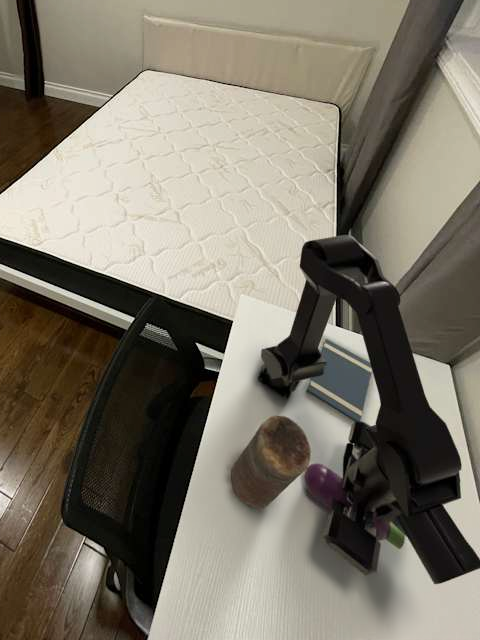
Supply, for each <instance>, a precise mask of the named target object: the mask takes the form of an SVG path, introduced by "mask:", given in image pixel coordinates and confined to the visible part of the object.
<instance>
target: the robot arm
mask: <svg viewBox="0 0 480 640" xmlns="http://www.w3.org/2000/svg"><path fill="white" fill-rule="evenodd" d="M299 269H300V271H301V272H302V274H303V276H304V278H305V283H304V286H303V289H302V293H301V295H300V298H299V299H300V300H299V303H298V306H297V308H296V313H295V316H294V319H293V323H292V325H291V328H290V333H289V335H288V336H287V337H285V338H284V339H283V340H281V341H280V342H279V343H277V344H276V345H274V346H270V347H265V348H262V349H261V350H260V351H261V353H260V358H261V360H262V362H263V367H262V368H261V370H260V372H259V374H258V377H257V381H258V382H259V383H260V384H262V385H264V386H265V387H267V388H268V389H270V390H271V391H273V392H274V393H276V394H278V395H279V396H280V397H282V398H284V399H285V400H287V399H289V397H290V394H291V392H295V390H296V389H297V387H298V386H299V384H300V382H301V381H304V380H308V379H312V378H313V377H317V376H321V375H324V368H325V366H326V365H327V362H326V361H325V360H324V358H323V356H322V354H321V350H320V349H319V347H320V343H321V341H322V338H323V335H324V333H325V330H326V328H327V325H328V323H329V320H330V317H331V314H332V311H333V309H334V306H335V303H336V301H337V298H340V299H342V300H343V301H345V302H346V303H347V304H348V305H349V307H351V309H352V310H353V312H355V313H356V317H357V321H358V324H359V327H360V331H361V335H362V338H363V342H364V346H365V350H366V352H367V357H368V360H369V362H370V364H371V368H372V374H373V378H374V382H375V385H376V389H377V393H378V397H379V403H380V405H379V409H378V412H377V416H376V419H375V424H374V425H370V424H369V423H367V422H365V421H362V420H360V421H354V422H353V423H352V424H351V426H350V431H349V433H348V434H349V435H348V439H347V440H348V442H347V443H346V445H345V449H344V453H343V457H342V478H343V479H344V482H343V486H342V489H343V490H344V491H346V492H347V493H348V494H347V501H348V502H350V503H351V504H354V502H353V501H355V504H354V508H352V507H349V509H348V508H347V507H346V506H344V505H343V504H342V503H340V502H339V501H338V500H336V499H335V498H333V500H332V504H331V508H329V511H328V512H329V513H328V517H327V522H326V526H325V530H324V534H323V539H324V543H325V544H326V546H327V547H328V548H330V549H331V550H333V552H335V553H336V554H337V555H338V556H340V557H341V558H343V560H345V561H346V562H348V563H349V564H350V565H352V566H353V567H354V568H355V569H356V570H358V571H359V572H360V573H361V574H363V575H364V576H369V575H373V574H376V573H377V571H378V564H379V558H380V552H381V545H382V544H381V543H380V541H378V540H377V538H376V537H375V535H376V526H375V524H374V523H373V521H372V519H373V513H374V512H375V513H376V514H377V515H376V518H378V519H379V520H380V521H382V522H383V523H385V524H387V523H389V522H390V523H392V524H393V525H394V526H396V527H397V528H398V529H399V530H400V531H401V532H402V533H403V534H404V535H405V538H407V540H408V541H409V543H410V545H411V547H412V548H413V550H414V552H415V553H416V555H417V556H418V559H419V561H420V562H421V564H422V566H423V567H424V569H425V571H426V573H427V574H428V576H429V578H430V580H431V581H432V583H433V585H440V584H444V583H446V582H448V581H451V580H454V579H457V578H459V577H461V576H464V575H467V574H470V573H473V572H474V571H477V570H480V557H479V556H478V554H477V553H476V551H475V550H474V548H473V547H472V546H471V544H470V543H469V542H468V541H467V539H466V537H464V535H463V533H462V532H461V530H460V529H459V527H458V525H456V523H455V521H454V520H453V518H452V517H451V515H450V514H449V512H448V511H447V509H446V508H445V505H447V504H449V503H452V502H454V501H458V500H461V499H462V492H461V482H462V481H461V475H460V471H461V470H462V468H463V467H462V465H463V464H462V459H461V456H460V453H459V450H458V448H457V446H456V443H455V441H454V439H453V437H452V434H451V432H450V430H449V427H448V425H447V423H446V422H445V420H443V419H442V417H441V416H440V415H439V414H438V413H437V412H436V411H435V410H434V409H433V408H432V407H431V406H430V404H429V401H428V399H427V396H426V394H425V393H426V392H425V390H424V387H423V384H422V380H421V377H420V372H419V370H418V367H417V363H416V359H415V357H414V353H413V350H412V346H411V343H410V340H409V337H408V333H407V330H406V326H405V324H404V320H403V317H402V314H401V313H402V312H401V310H400V307H399V306H400V305H401V295H400V293H399V290H398V289H397V288H396V286H395V285H394V284H393V283H391V282H390V280H388V278H386V277H385V275H384V273H383V271H382V268H381V265H380V262H379V260H378V259H377V257H375V256H374V255H373V254H372V253H371V252H370V251H369V250H368V249H366V248H365V247H364V246H363V245H362V244H361V243H359V242H358V241H357V240H356V238H354V237H353V236H352V235H348V234H342V235H335V236H330V237H329V236H328V237H323V238H318V239H317V238H316V239H311V240H308V241H305V242H304V243H303V245H302V247H301V253H300V261H299ZM360 273H361V274H362V275H363V276H364V277H365V278H366V280H367V282H366V283H358V282H357V281H356V279H357V277H358V276H359V274H360ZM365 512H366V513H365ZM364 514H365V516H364ZM364 518H365V520H364Z"/></svg>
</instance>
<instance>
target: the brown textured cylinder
mask: <svg viewBox="0 0 480 640" xmlns="http://www.w3.org/2000/svg"><path fill="white" fill-rule="evenodd" d="M310 462H311V446H310V443H309V440H308V437H307V435H306V432H305V431H304V430H303V429H302V427H301V426H300V425H299V424H298V423H296V422H295V421H294V420H293V419H291V418H289V417H288V416H287V417H286V416H285V415H273V416H269V417H268V418H266V420H264V421H263V422H262V423H261V425H260V426H259V427H258V429H257V431H256V432H255V434H254V435H253V436H252V437H251V438H250V441H249V442H248V443H247V445H246V446H245V448H244V449H243V450H242V452H241V454H240V455H239V456H238V458H237V459H236V461H235V462H234V463H233V465H232V468H231V473H230V475H231V482H232V486H233V489H234V492H235V493H236V495H237V496H238V498H239V499H240V500H241V501H242V502H243V503H245V504H247V505H248V506H251V507H253V508H260V509H263V508H266V507H268V505H270V504H271V503H273V501H275V500H276V499H277V497H279V496H280V495H281V494H282V493H283V492H284V491H285V490H286V489H287V488H288V487H289V486H290V485H291V484H293V482H295V481H296V480H297V478H299V477H300V476H301V475H302V474H303V473H305V471H306V469H307V467H308V466H310Z"/></svg>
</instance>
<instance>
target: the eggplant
mask: <svg viewBox="0 0 480 640" xmlns="http://www.w3.org/2000/svg"><path fill="white" fill-rule="evenodd" d="M303 479H304V485H305V487H306V489H307V491H308V492H309V493H310V495H311V496H312V497H313V498H315V499H316V500H317V501H319V502H320V503H322V504H323V505H324V506H325V507H327V508H328V509H330V508H331V504H332V500H333V498H335V499H336V500H338V501H339V502H340V503H342V504H343V505H344V506H346V507H347V508H348V509H349V507H352V508H354V504H355V501H353V502H354V504H351V503H350V502H348V501H347V494H348V493H347V492H346V491H344V490H343V489H342V486H343V482H344V479H343V477H341V476H340V475H338V474H337V473H336V472H335V471H334V470H332V469H330V468H329V467H327V466H325V465H323V464H321V463H318V462H317V463H311V464H309V465H308V467H307V469H306V470H305V471H304V477H303ZM365 513H366V512H365ZM376 515H377V514H376V513H375V512H374V513H373V519H372V521H373V523H374V524H375V526H376V535H375V537H376V538H377V540H378V541H379V542H380V541H384V540H386V541H387V542H388V543H390V544H391V545H392V546H394V547H395V548H397V549H398V550H401V549H402V548H403V546H404V544H405V540H406V536H405V535H404V534H403V533H402V532H401V531H400V530H399V529H398V528H397V527H396V526H394V525H393V523H392V522H389V523H387V524H385V523H383V522H382V521H380V520H379V519H378V518H376ZM364 516H365V514H364ZM364 520H365V518H364Z"/></svg>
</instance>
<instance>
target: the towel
mask: <svg viewBox="0 0 480 640" xmlns="http://www.w3.org/2000/svg"><path fill="white" fill-rule="evenodd" d="M320 352H321V354H322V356H323V358H324V360H325V361H326V362H327V365H326V366H325V368H324V375H321V376H317V377H313V378H310V382H309V384H308V387H307V389H306V390H307V392H308V393H309V394H311V395H312V396H314V397H316V398H318V399H319V400H321V401H322V402H324V403H326V404H327V405H329V406H330V407H332V408H334V409H335V410H337V411H338V412H339V413H342V414H343V415H345V416H347V418H350V419H351V420H353V421H354V422H356V421H361V420H362V416H363V410H364V406H365V402H366V398H367V393H368V390H369V385H370V381H371V377H372V374H373V371H372V368H371V364H370V361H368V360H366V359H364V358H363V357H360V356H359V355H357V354H355V353H353V352H352V351H350V350H348V349H346V348H344V347H343V346H341V345H339V344H337V343H335V342H334V341H332V340H330V339H328V338H325V340H324V342H323V346H322V348H321V350H320Z"/></svg>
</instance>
